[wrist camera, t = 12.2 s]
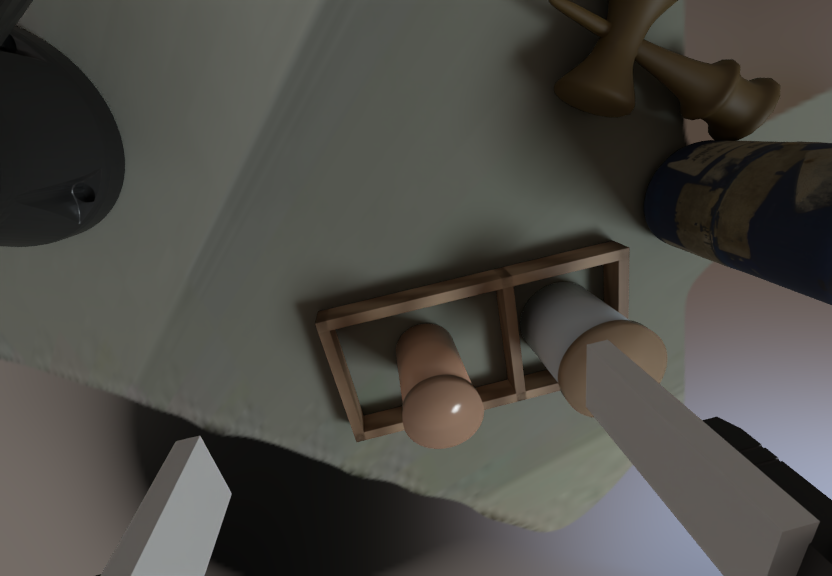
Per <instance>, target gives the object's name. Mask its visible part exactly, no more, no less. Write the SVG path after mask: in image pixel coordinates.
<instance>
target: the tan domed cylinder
mask: <svg viewBox="0 0 832 576" xmlns="http://www.w3.org/2000/svg"><path fill="white" fill-rule="evenodd" d="M396 359H397V366H398V373H399V380H400V387H401V394H402V401H403V405H402V419H403V426H404V429H405V431H406V433H407V435H408V436H409V437H410V438H411V439H412V440H413V441H414V442H416V443H417V444H419V445H421V446H424V447H428V448H434V449H442V448H449V447H453V446H456V445H458V444H461V443H462V442H464V441H466V440H467V439H469V438H470V437H471V436H472V435H473V434H474V433H475V432H476V431H477V430H478V428H479V427H480V425H481V423H482V420H483V416H484V406H483V403H482V400H481V398H480V396H479V393H478V391H477V389H476V388H475V387H474V386H473V384H472V383H471V381H470V379H469V376H468V374H467V372H466V369H465V367H464V365H463V362H462V360H461V358H460V355H459V353H458V350H457V348H456V346H455V343H454V341H453V339H452V337H451V335H450V334H449V332H448V331H447V330H445V329H444V328H443V327H441V326H439V325H435V324H428V323H426V324H419V325H416V326H413V327H411V328H410V329H408V330H407V331H405V332H404V333H403V334H402V336H401V337H400V338H399V340H398V342H397V345H396Z"/></svg>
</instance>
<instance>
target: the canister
mask: <svg viewBox="0 0 832 576" xmlns="http://www.w3.org/2000/svg"><path fill="white" fill-rule="evenodd" d="M644 213H645V218H646V222H647V225H648V227H649V228H650V230H651V231H652V233H653V234H654V235H655V236H656V237H657V238H659V239H660V240H662V241H663V242H665V243H667V244H669V245H672V246H674V247H677V248H680V249H682V250H685V251H687V252H690V253H693V254H695V255H698V256H700V257H703V258H706V259H709V260H711V261H714V262H717V263H719V264H722V265H724V266H727V267H730V268H733V269H736V270H739V271H742V272H745V273H748V274H750V275H753V276H756V277H758V278H761V279H764V280H766V281H769V282H771V283H774V284H777V285H779V286H782V287H785V288H787V289H790V290H793V291H795V292H798V293H801V294H804V295H806V296H809V297H812V298H814V299H817V300H819V301H822V302H825V303H827V304H830V305H832V143H821V142H762V141H726V140H708V141H701V142H697V143H693V144H690V145H688V146H686V147H684V148H682V149H680V150H678V151H677V152H675V153H674V154H672V155H671V156H670V157H669V158H668V159H667V160H666V161H665V162H664V163H663V164H662V165H661V166H660V167H659V169H658V170H657V171H656V173H655V174H654V176H653V178H652V180H651V182H650V184H649V186H648V189H647V192H646V196H645V202H644Z"/></svg>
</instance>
